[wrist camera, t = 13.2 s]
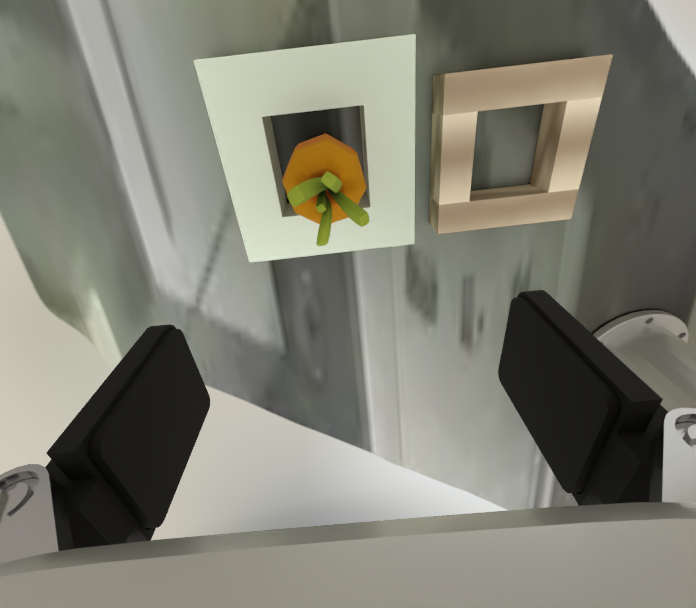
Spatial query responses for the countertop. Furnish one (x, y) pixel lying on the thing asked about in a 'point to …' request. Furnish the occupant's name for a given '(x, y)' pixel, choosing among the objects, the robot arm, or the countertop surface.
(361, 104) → the pale green square frame
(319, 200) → the carrot
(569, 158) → the socket block
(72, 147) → the countertop surface
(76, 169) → the countertop surface
